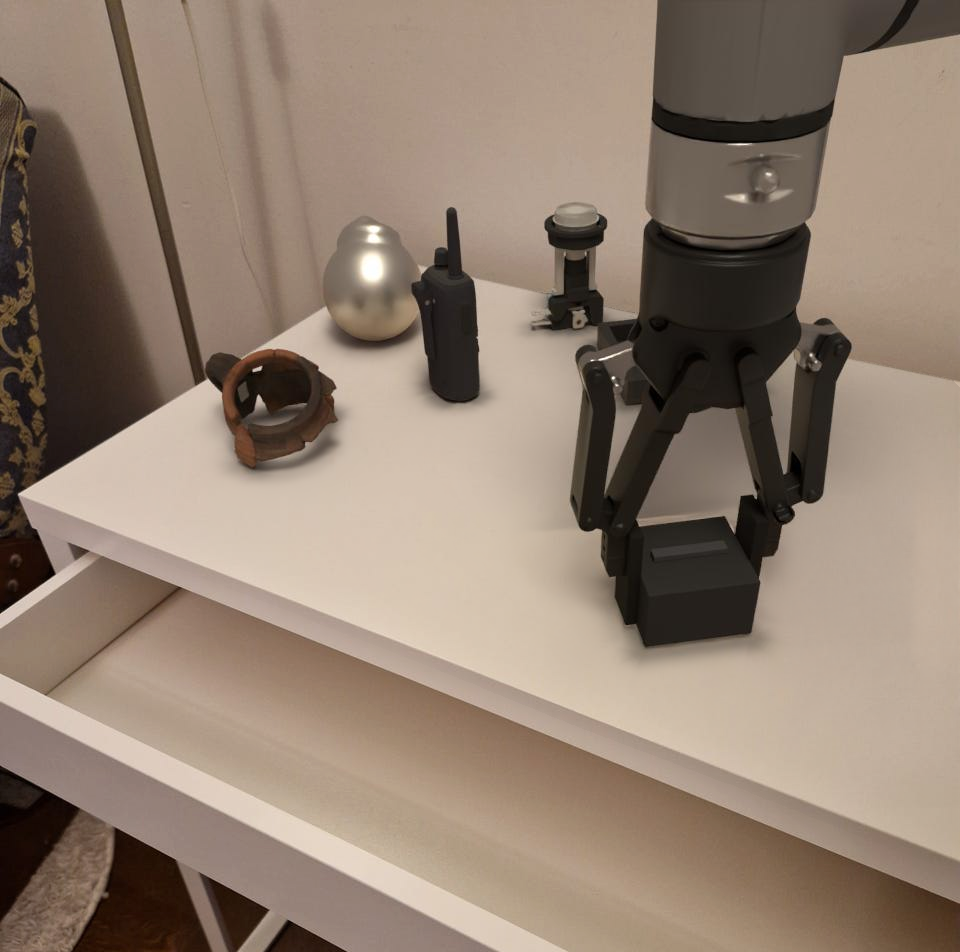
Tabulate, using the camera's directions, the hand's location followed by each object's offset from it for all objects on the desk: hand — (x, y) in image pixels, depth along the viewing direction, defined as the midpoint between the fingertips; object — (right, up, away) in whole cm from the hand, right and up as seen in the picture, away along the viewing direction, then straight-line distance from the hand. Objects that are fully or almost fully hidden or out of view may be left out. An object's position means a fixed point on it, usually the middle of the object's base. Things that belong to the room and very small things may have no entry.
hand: (683, 602), depth 61 cm
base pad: (+4, +21, +23) cm, 31 cm away
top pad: (0, 0, 0) cm, 0 cm away
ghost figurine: (-22, +25, +30) cm, 45 cm away
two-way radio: (-15, +18, +22) cm, 32 cm away
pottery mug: (-28, +14, +18) cm, 36 cm away
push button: (-5, +26, +30) cm, 40 cm away
